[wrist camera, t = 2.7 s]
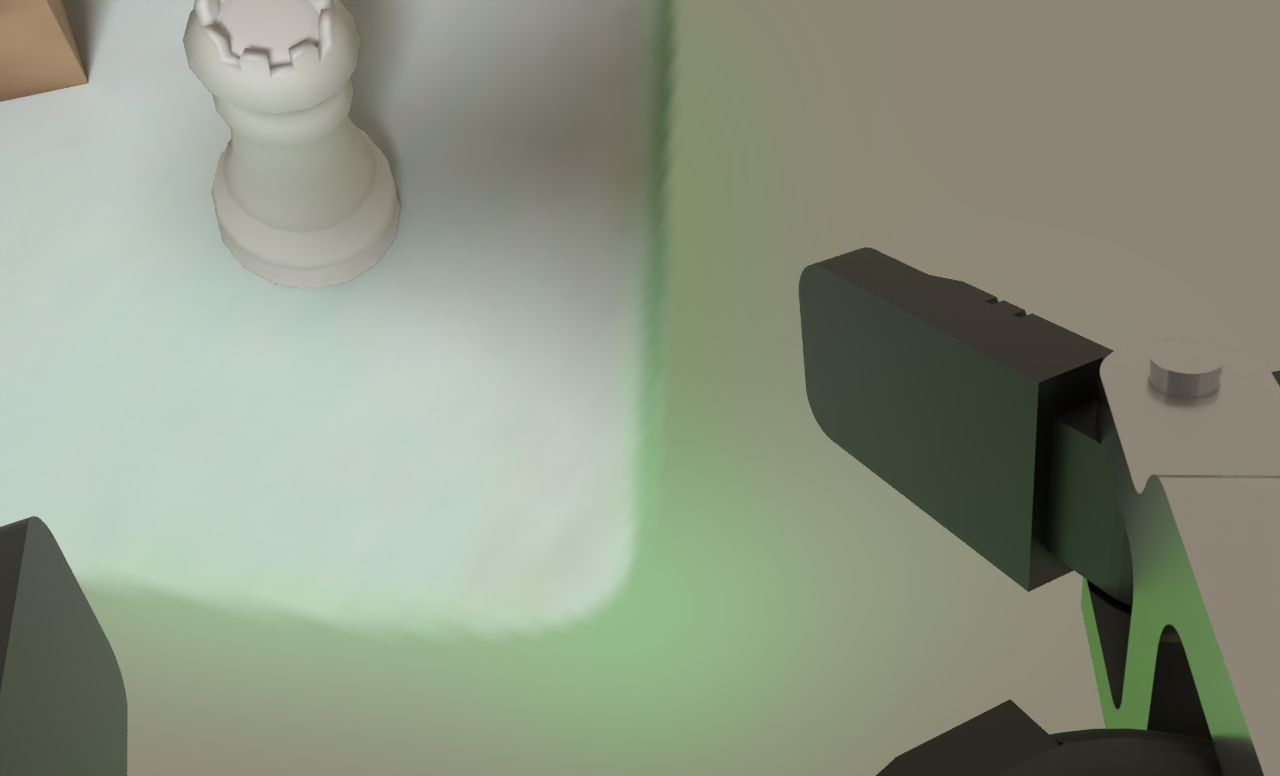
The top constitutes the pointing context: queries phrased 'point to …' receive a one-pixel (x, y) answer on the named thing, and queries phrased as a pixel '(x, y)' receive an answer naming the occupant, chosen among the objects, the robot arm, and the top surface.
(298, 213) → the rook chess piece
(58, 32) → the walnut base block
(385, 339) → the top surface
